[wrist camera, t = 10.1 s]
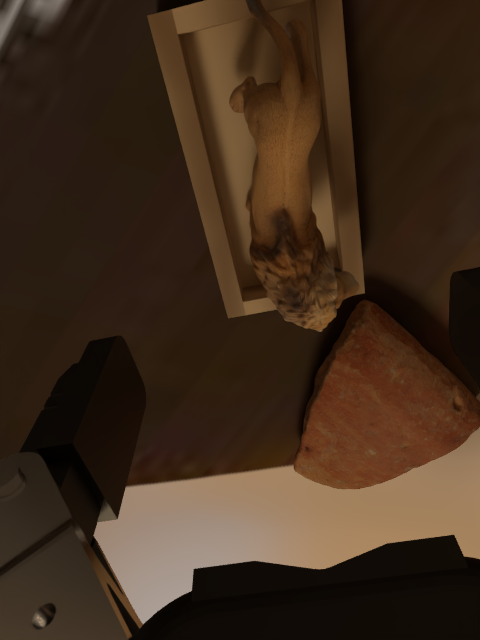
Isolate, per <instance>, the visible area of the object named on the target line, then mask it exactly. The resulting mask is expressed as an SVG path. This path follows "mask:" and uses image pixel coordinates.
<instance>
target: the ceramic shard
mask: <svg viewBox="0 0 480 640" xmlns="http://www.w3.org/2000/svg"><path fill="white" fill-rule="evenodd" d="M314 381H315V385H314V391H313V394H312V396H311V398H310V400H309V401H308V404H307V407H306V412H305V417H304V425H303V434H302V438H301V443H300V446H299V449H298V451H297V453H296V456H295V461H294V470H295V471H296V472H297V473H299V474H301V475H302V476H304V477H305V478H307V479H310V480H312V481H314V482H317V483H320V484H323V485H327V486H330V487H333V488H337V489H360V488H365V487H369V486H373V485H375V484H379V483H383V482H385V481H388V480H390V479H393V478H396V477H397V476H400V475H402V474H403V473H406V472H408V471H410V470H411V469H413V468H416V467H420V466H422V465H424V464H426V463H428V462H430V461H432V460H435V459H437V458H439V457H442V456H444V455H446V454H448V453H449V452H451V451H453V450H455V449H456V448H458V447H459V446H460V445H461V444H463V443H464V442H465V441H466V440H467V439H468V437H469V436H470V435H471V434H472V433H473V432H474V431H475V430H477V429H478V428H479V427H480V402H479V401H478V400H477V398H476V397H475V396H474V395H473V394H472V393H471V392H470V391H469V389H468V388H467V387H466V386H465V385H464V384H463V383H462V382H461V381H460V380H459V379H458V378H457V377H456V376H455V375H454V374H453V373H452V372H451V371H449V370H448V369H447V368H446V367H445V366H444V365H443V364H442V363H441V362H440V361H439V360H438V359H437V358H436V357H435V356H433V355H432V354H430V353H429V352H428V351H427V350H425V349H424V348H423V346H422V345H421V344H420V343H419V342H418V341H417V340H416V339H415V338H414V337H413V336H412V335H411V334H410V333H409V332H408V331H407V330H406V329H405V328H403V327H402V326H401V325H400V324H399V323H398V322H397V321H396V320H394V319H393V318H392V317H391V316H390V315H389V314H388V313H387V312H385V311H384V310H383V309H382V308H381V307H379V306H378V305H377V304H375V303H373V302H371V301H369V300H365V299H364V300H362V301H361V302H360V303H358V304H357V306H356V307H355V309H354V311H353V312H352V313H351V315H350V317H349V318H348V320H347V322H346V326H345V327H344V329H343V331H342V332H341V334H340V336H339V339H338V340H337V341H336V342H335V343H334V345H333V347H332V350H331V352H330V354H329V355H328V356H327V357H326V359H325V361H324V362H323V364H322V365H321V366H320V368H319V370H318V371H317V374H316V377H315V380H314Z"/></svg>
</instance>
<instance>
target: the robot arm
mask: <svg viewBox="0 0 480 640" xmlns="http://www.w3.org/2000/svg"><path fill="white" fill-rule="evenodd" d="M449 337H450V341H451V344H452V347H453V350H454V352H455V353H456V355H457V356H458V358H459V359H460V360H461V362H462V363H463V365H464V366H465V367H466V369H467V370H468V372H469V373H470V374H471V376H472V377H473V379H474V380H475V381H476V383H477V384H478V386H479V387H480V267H478V268H473V269H468V270H462V271H457V272H454V273H453V274H452V276H451V280H450V302H449ZM145 407H146V392H145V387H144V383H143V381H142V378H141V376H140V374H139V371H138V369H137V367H136V364H135V362H134V360H133V357H132V355H131V353H130V350H129V348H128V346H127V343H126V341H125V340H124V338H123V337H122V336H114V337H109V338H104V339H98V340H93V341H90V342H89V343H88V345H87V347H86V349H85V351H84V353H83V355H82V357H81V359H80V361H79V363H76V364H73V365H72V366H71V367H70V368H69V369H68V370H67V371H66V372H65V373H64V374H63V375H62V376H61V377H60V378H59V379H58V381H57V383H56V384H55V386H54V388H53V390H52V392H51V397H49V398H48V399H47V401H46V403H45V405H44V410H42V411H41V413H40V415H39V416H38V418H37V420H36V422H35V424H34V426H33V428H32V430H31V431H30V433H29V435H28V437H27V439H26V441H25V443H24V445H23V446H22V448H21V450H20V452H19V453H18V454H14V455H11V456H9V457H7V458H5V459H3V460H1V461H0V640H480V559H476V558H470V557H464V556H463V554H462V551H461V549H460V547H459V545H458V542H457V540H456V538H455V536H454V535H449V536H442V537H434V538H426V539H419V540H411V541H404V542H396V543H388V544H385V545H383V546H380V547H378V548H376V549H373V550H371V551H368V552H366V553H363V554H361V555H359V556H356V557H354V558H351V559H349V560H346V561H344V562H342V563H339V564H337V565H335V566H332V567H330V568H326V569H320V570H319V569H310V568H302V567H295V566H288V565H280V564H273V563H265V562H259V561H251V562H243V563H236V564H228V565H220V566H214V567H206V568H198V569H194V574H193V585H192V591H191V592H189V593H187V594H184V595H182V596H181V597H179V598H177V599H175V600H174V601H172V602H170V603H169V604H167V605H166V606H165V607H163V608H162V609H161V610H159V611H158V612H157V613H155V614H154V615H153V616H152V617H151V618H150V619H149V620H148V621H147V622H145V623H144V624H142V623H141V621H140V619H139V618H138V616H137V614H136V613H135V611H134V609H133V607H132V606H131V604H130V602H129V600H128V598H127V596H126V594H125V592H124V591H123V589H122V587H121V585H120V583H119V581H118V579H117V577H116V576H115V574H114V572H113V570H112V568H111V566H110V564H109V563H108V561H107V559H106V557H105V555H104V553H103V551H102V550H101V548H100V546H99V544H98V542H97V540H96V539H95V538H94V536H93V535H94V532H95V528H96V525H97V522H102V521H109V520H116V519H118V515H119V511H120V507H121V503H122V499H123V495H124V491H125V487H126V483H127V479H128V475H129V471H130V467H131V463H132V459H133V455H134V451H135V447H136V443H137V439H138V435H139V431H140V427H141V423H142V419H143V415H144V411H145Z"/></svg>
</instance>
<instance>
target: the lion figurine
mask: <svg viewBox="0 0 480 640" xmlns="http://www.w3.org/2000/svg"><path fill="white" fill-rule="evenodd" d="M245 1H246V3H247V6H248V9H249V11H250V13H251V15H252V16H253V17H254V18H255V19H257V20H258V21H259V22H260V23H261V24H262V25H263V26H264V27H265V28H266V30H267V31H268V32H269V33H270V35H271V36H272V38H273V40H274V42H275V44H276V46H277V49H278V51H279V55H280V60H281V75H280V76H279V78H278V81H277V82H276V83H263V84H260V85H257V83H256V80H255V78H254V77H253V76H248V77H247V78H246V79H245V80H244V82H243V83H242V84H241V85H239V86H237V87H236V88H235V89H234V90H233V92H232V94H231V96H230V100H229V104H230V107H231V108H232V110H233V111H234V112H237V113H244V117H245V120H246V123H247V124H248V129H249V132H250V134H251V136H252V137H253V138H254V141H255V145H256V148H257V154H256V158H255V162H254V166H253V172H252V185H253V186H252V195H251V197H249V198H248V200H247V201H246V209H247V210H248V211H249V212H250V221H249V226H250V229H251V237H252V240H251V243H250V248H249V254H250V259H251V262H252V264H253V269H254V270H255V272H256V274H257V276H258V278H259V279H260V280H261V282H262V284H263V286H264V288H265V290H266V295H267V296H268V298H269V299H271V300H272V302H273V303H274V304H275V305H276V308H277V310H278V311H279V312H280V313H281V314H282V316H283V318H284V319H285V320H286V321H291V322H293V323H295V324H297V325H299V326H302V327H304V328H306V329H307V328H311V329H315V330H317V331H319V332H321V331H323V328H326V327H327V325H328V323H329V322H331V321H332V320H333V318H335V317H336V315H337V311H336V309H337V308H339V307H340V305H341V303H342V301H343V300H344V299H346V298H348V297H350V296H353V295H355V294H356V293H357V292H358V290H359V288H360V286H359V283H358V282H357V281H356V280H355V278H354V276H353V275H352V274H351V273H349V272H347V271H342V270H341V269H340V268H335V267H334V261H333V259H332V257H331V256H330V255H329V254H328V252H326V248H325V243H324V240H323V236H322V233H321V232H320V230H319V229H318V227H317V219H316V215H315V213H314V212H313V211H312V180H311V173H310V166H309V161H308V157H309V154H310V151H311V148H312V146H313V144H314V141H315V139H316V137H317V134H318V132H319V129H320V123H321V110H320V100H321V89H320V86H319V84H318V81H317V79H316V76H315V74H314V70H313V66H312V61H311V53H310V36H309V33H308V31H307V29H306V28H305V26H304V24H303V22H302V21H301V20H298V19H293V20H290V21H288V22H287V24H286V25H285V27H284V29H283V28H282V26H281V25H280V24H279V23H278V22H277V21H276V20H275V19H274V18H273V17H272V16H271V15H270V14H269V13H268V12H267V11H266V10H265V8H264V7H263V5H262V2H261V0H245Z"/></svg>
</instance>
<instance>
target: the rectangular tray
mask: <svg viewBox="0 0 480 640" xmlns="http://www.w3.org/2000/svg"><path fill="white" fill-rule="evenodd" d="M261 2H262V5H263V7H264V8H265V10H266V11H267V12H268V13H269V14H270V15H271V16H272V17H273V18H274V19H275V20H276V21H277V22H278V23H279V24H280V25H281V26H282V28H283V29H284V27H285V25H286V24H287V22H288V21H290V20H293V19H298V20H301V21H302V22H303V24H304V26H305V28H306V29H307V31H308V33H309V36H310V53H311V61H312V66H313V70H314V74H315V76H316V79H317V81H318V84H319V86H320V89H321V100H320V110H321V123H320V129H319V132H318V134H317V137H316V139H315V141H314V144H313V146H312V148H311V151H310V154H309V157H308V161H309V166H310V173H311V180H312V211H313V212H314V213H315V215H316V219H317V227H318V229H319V230H320V232H321V233H322V236H323V240H324V243H325V248H326V252H328V254H329V255H330V256H331V257H332V259H333V261H334V267H335V268H340V269H341V270H342V271H347V272H349V273H351V274H352V275H353V276H354V278H355V280H356V281H357V282H358V283H359V286H360V288H359V290H358V292H357V293H356V294H355V295H358V294H363V293H365V288H364V275H363V263H362V250H361V237H360V225H359V212H358V199H357V187H356V174H355V161H354V148H353V136H352V123H351V110H350V98H349V85H348V72H347V60H346V47H345V34H344V21H343V9H342V0H261ZM147 17H148V21H149V25H150V28H151V32H152V36H153V40H154V43H155V47H156V51H157V54H158V58H159V62H160V66H161V69H162V73H163V77H164V81H165V84H166V88H167V92H168V96H169V99H170V103H171V107H172V110H173V114H174V118H175V122H176V125H177V129H178V133H179V137H180V140H181V144H182V148H183V151H184V155H185V159H186V163H187V166H188V170H189V174H190V178H191V181H192V185H193V189H194V192H195V196H196V200H197V204H198V207H199V211H200V215H201V219H202V222H203V226H204V230H205V234H206V237H207V241H208V245H209V248H210V252H211V256H212V260H213V263H214V267H215V271H216V275H217V278H218V282H219V286H220V289H221V293H222V297H223V301H224V304H225V308H226V312H227V316H228V318H233V317H238V316H243V315H249V314H254V313H260V312H265V311H271V310H276V309H277V308H276V305H275V304H274V303H273V302H272V300H271V299H269V298H268V296H267V295H266V290H265V288H264V286H263V284H262V282H261V280H260V279H259V278H258V276H257V274H256V272H255V270H254V269H253V264H252V262H251V259H250V254H249V248H250V243H251V240H252V237H251V229H250V226H249V221H250V212H249V211H248V210H247V209H246V201H247V200H248V198H249V197H251V195H252V186H253V185H252V172H253V166H254V162H255V158H256V154H257V148H256V145H255V141H254V138H253V137H252V136H251V134H250V132H249V129H248V124H247V123H246V120H245V117H244V113H237V112H234V111H233V110H232V108H231V107H230V104H229V100H230V96H231V94H232V92H233V90H234V89H235V88H236V87H237V86H239V85H241V84H242V83H243V82H244V80H245V79H246V78H247V77H248V76H253V77H254V78H255V80H256V83H257V85H260V84H263V83H276V82H277V81H278V78H279V76H280V75H281V60H280V55H279V51H278V49H277V46H276V44H275V42H274V40H273V38H272V36H271V35H270V33H269V32H268V31H267V30H266V28H265V27H264V26H263V25H262V24H261V23H260V22H259V21H258V20H257V19H255V18H254V17H253V16H252V15H251V13H250V11H249V9H248V6H247V3H246V1H245V0H205V1H201V2H197V3H193V4H190V5H186V6H182V7H178V8H175V9H171V10H167V11H163V12H160V13H156V14H152V15H148V16H147Z"/></svg>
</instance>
